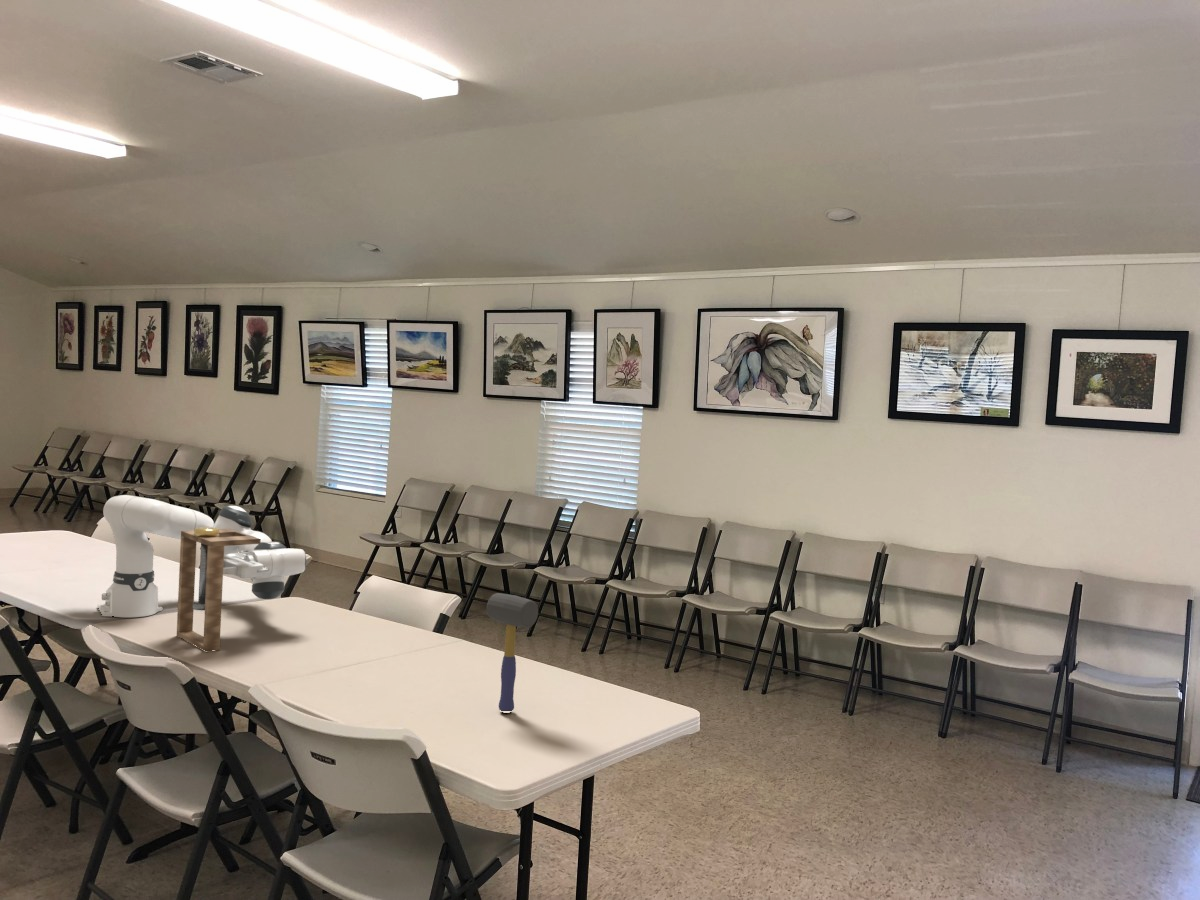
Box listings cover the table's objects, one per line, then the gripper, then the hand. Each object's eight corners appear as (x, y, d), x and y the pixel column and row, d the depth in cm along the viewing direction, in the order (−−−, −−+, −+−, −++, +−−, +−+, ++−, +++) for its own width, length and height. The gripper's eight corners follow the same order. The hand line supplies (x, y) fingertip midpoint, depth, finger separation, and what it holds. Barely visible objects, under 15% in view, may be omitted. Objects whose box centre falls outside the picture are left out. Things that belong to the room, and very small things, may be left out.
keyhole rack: (224, 629, 300) (229, 528, 299) (255, 645, 285) (260, 538, 283) (176, 635, 290) (181, 531, 288) (205, 652, 274) (210, 541, 273)
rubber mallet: (477, 710, 239) (484, 593, 238) (497, 703, 245) (504, 589, 244) (514, 722, 232) (522, 601, 230) (534, 715, 238) (541, 597, 236)
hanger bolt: (187, 606, 284) (190, 527, 283) (210, 604, 289) (213, 526, 288) (196, 611, 279) (200, 531, 278) (219, 609, 284) (223, 530, 283)
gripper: (271, 580, 287) (227, 585, 277) (242, 569, 301) (198, 573, 291) (272, 560, 286) (227, 564, 277) (243, 549, 301) (199, 552, 291)
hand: (212, 568), depth 284 cm, fingers open, 8 cm apart
